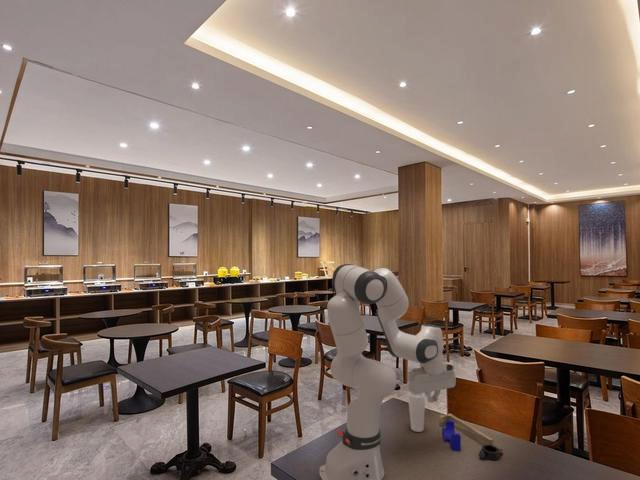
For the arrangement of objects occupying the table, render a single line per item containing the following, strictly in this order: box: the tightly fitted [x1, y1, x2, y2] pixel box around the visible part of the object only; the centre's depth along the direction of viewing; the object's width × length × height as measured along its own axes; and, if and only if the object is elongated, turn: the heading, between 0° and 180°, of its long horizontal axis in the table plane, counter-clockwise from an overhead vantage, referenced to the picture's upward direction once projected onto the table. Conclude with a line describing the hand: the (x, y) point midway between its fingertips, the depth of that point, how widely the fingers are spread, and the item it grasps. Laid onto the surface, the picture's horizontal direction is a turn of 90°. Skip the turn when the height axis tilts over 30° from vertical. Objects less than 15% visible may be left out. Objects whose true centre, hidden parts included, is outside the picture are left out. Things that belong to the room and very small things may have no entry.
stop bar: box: [438, 413, 495, 447], centre depth 145 cm, size 6×24×4 cm, turn 21°
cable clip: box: [441, 420, 462, 452], centre depth 141 cm, size 12×4×6 cm, turn 172°
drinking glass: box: [408, 391, 426, 433], centre depth 152 cm, size 7×7×15 cm
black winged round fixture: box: [478, 445, 504, 462], centre depth 131 cm, size 8×10×3 cm
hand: (432, 401), depth 139 cm, fingers closed
